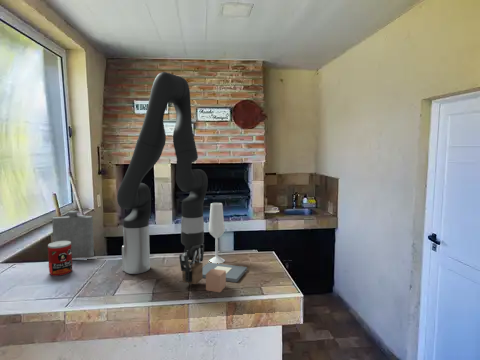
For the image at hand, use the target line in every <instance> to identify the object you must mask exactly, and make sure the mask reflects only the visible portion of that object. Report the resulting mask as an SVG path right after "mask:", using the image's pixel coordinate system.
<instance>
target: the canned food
mask: <svg viewBox="0 0 480 360" xmlns="http://www.w3.org/2000/svg"><path fill="white" fill-rule="evenodd" d="M47 257H48V258H47V259H48V272H49V275H51V276H55V277H56V276H63V275H67V274H70V273H71V272H72V271H73V258H72V249H71V242H70V241H56V242H50V243H48V244H47Z"/></svg>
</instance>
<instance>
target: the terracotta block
mask: <svg viewBox="0 0 480 360" xmlns="http://www.w3.org/2000/svg"><path fill="white" fill-rule="evenodd" d="M226 282H227V281H226V271H225V270H217V269H211V270H210V271H209V272H208V273H207V274H206V278H205V291H208V292H209V291H210V292H215V293H221V292H222V291H223V290H224V289H225V288H226V287H227V283H226Z"/></svg>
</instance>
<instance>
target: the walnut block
mask: <svg viewBox="0 0 480 360" xmlns="http://www.w3.org/2000/svg"><path fill="white" fill-rule="evenodd" d="M189 261H190V262H191V261H192V260H189ZM203 267H204V265H203V262H201V263H198V262H195V263H194V264H193V267H192V282H186V281H185V271H181V272H182V275H181V276H182V278H181V279H182V281H181V282H182V283H185V284H193V285H197V284H199V282H200V281H202V280H203V279H204V278H203ZM189 268H190V264H189Z"/></svg>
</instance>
